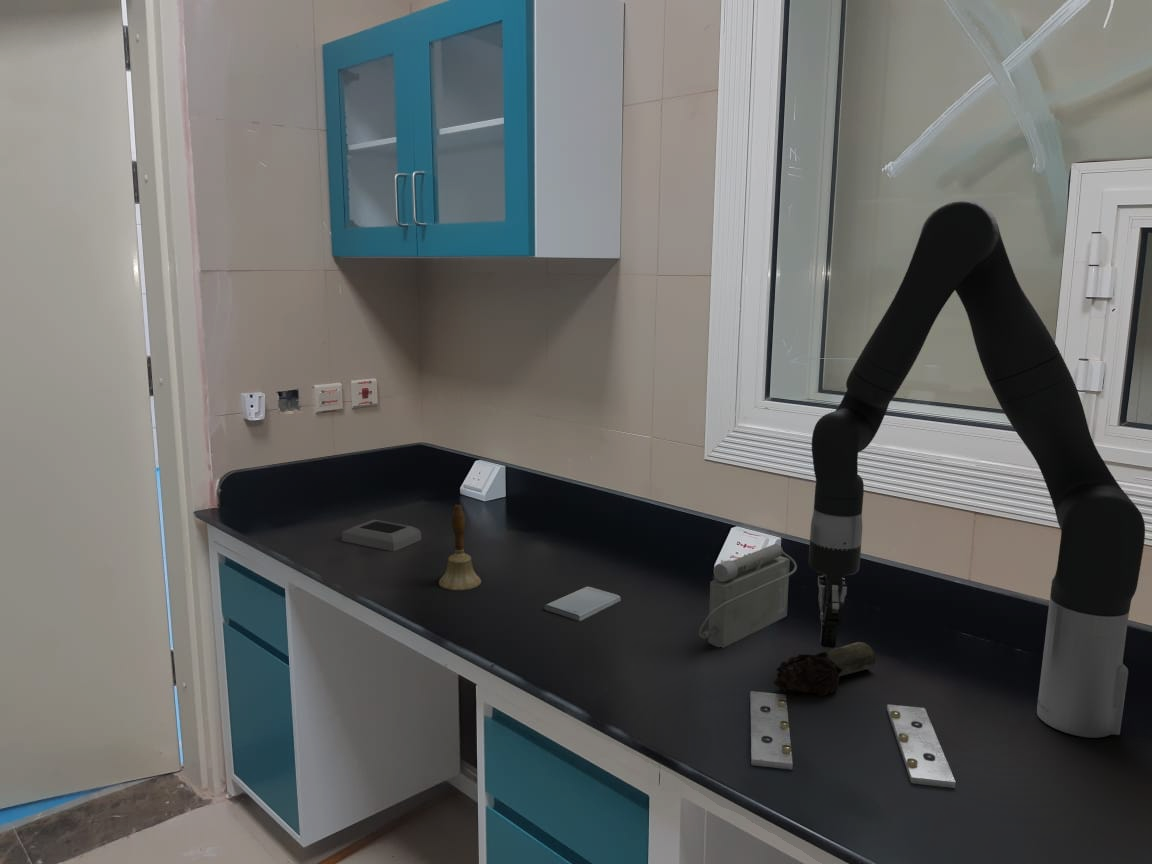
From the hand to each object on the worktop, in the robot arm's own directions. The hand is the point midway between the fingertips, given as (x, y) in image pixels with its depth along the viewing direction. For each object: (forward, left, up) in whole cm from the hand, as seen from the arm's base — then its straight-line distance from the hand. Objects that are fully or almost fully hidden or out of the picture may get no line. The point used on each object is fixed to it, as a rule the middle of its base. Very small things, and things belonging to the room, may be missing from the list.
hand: (827, 645), depth 133 cm
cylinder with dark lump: (0, +5, -4) cm, 7 cm away
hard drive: (+42, -17, -4) cm, 45 cm away
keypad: (+94, -45, -4) cm, 104 cm away
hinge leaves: (0, +21, -4) cm, 21 cm away
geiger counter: (+13, -10, -4) cm, 17 cm away
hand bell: (+68, -23, -4) cm, 72 cm away
